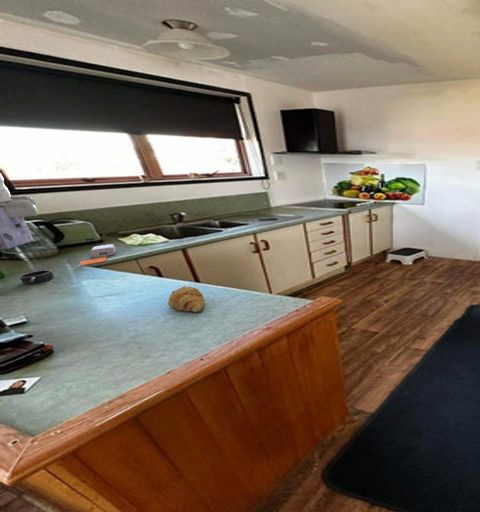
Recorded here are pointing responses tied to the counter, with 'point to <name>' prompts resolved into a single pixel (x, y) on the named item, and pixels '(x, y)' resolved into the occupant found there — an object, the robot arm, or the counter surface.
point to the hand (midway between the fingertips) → (9, 228)
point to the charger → (103, 250)
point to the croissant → (186, 299)
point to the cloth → (93, 261)
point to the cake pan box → (12, 231)
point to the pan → (37, 276)
